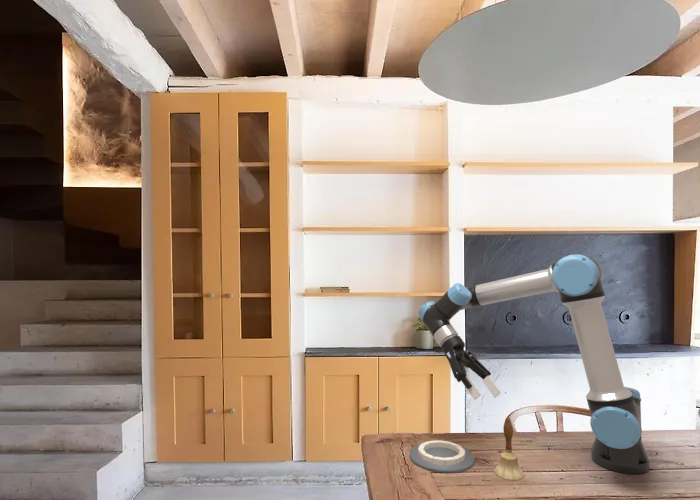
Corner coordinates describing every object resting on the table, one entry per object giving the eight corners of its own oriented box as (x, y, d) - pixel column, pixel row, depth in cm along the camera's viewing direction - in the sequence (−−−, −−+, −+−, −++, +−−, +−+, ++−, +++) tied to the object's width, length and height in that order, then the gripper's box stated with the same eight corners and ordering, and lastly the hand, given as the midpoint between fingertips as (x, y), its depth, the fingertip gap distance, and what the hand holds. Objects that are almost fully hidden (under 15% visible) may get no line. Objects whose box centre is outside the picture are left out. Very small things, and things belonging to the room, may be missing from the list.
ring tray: (476, 449, 143) (476, 441, 143) (472, 477, 124) (472, 468, 124) (416, 441, 150) (416, 433, 150) (403, 467, 131) (403, 458, 131)
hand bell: (524, 482, 121) (523, 425, 122) (493, 477, 124) (492, 421, 124) (524, 469, 129) (522, 415, 129) (494, 465, 132) (493, 412, 132)
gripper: (460, 349, 158) (497, 401, 145) (421, 347, 140) (459, 405, 127) (475, 336, 155) (513, 387, 142) (437, 332, 137) (477, 390, 124)
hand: (488, 396), depth 135 cm, fingers open, 13 cm apart
